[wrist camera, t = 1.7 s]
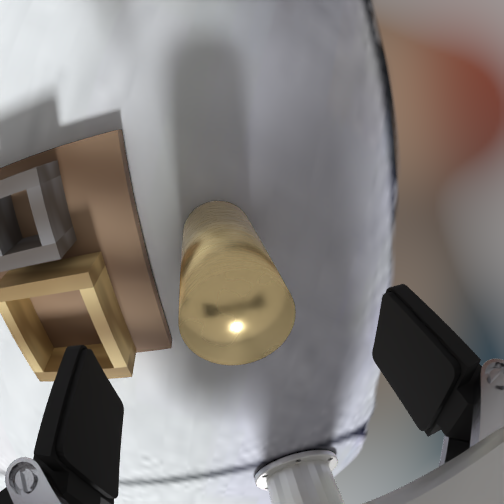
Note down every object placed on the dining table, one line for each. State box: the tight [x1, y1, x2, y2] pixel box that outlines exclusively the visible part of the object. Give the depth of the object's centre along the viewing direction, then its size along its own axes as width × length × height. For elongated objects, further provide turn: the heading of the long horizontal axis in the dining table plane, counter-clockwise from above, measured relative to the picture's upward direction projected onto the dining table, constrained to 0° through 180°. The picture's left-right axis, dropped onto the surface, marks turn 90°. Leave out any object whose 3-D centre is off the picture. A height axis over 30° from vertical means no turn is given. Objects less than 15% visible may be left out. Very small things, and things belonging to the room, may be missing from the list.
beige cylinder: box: [179, 201, 295, 365], centre depth 16 cm, size 5×5×10 cm
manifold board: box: [0, 130, 172, 381], centre depth 17 cm, size 16×14×4 cm
